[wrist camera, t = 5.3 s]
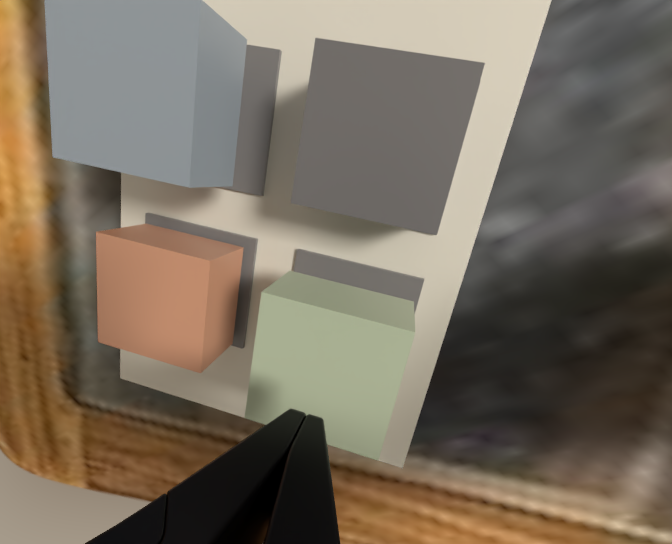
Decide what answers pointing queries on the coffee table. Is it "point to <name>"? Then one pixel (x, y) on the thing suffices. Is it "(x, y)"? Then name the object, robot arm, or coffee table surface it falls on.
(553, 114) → the coffee table surface
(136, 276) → the terracotta key
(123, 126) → the slate key
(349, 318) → the sage key
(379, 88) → the charcoal key
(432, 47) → the keypad board
